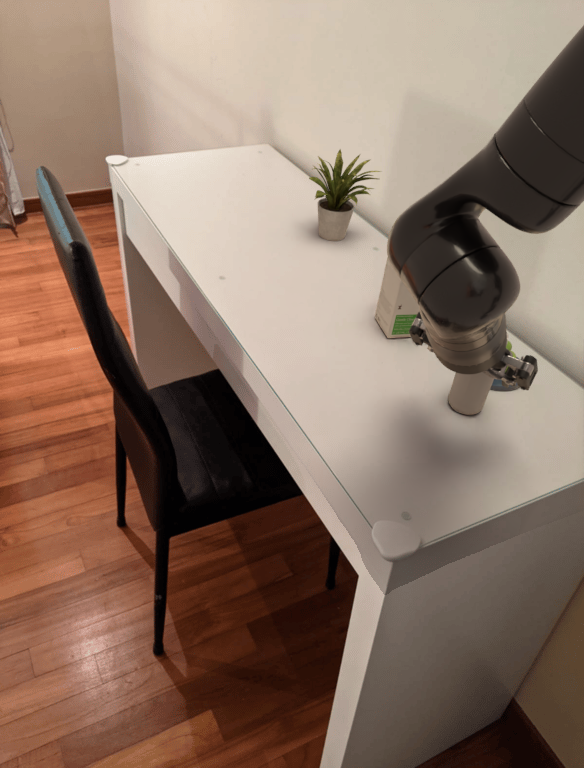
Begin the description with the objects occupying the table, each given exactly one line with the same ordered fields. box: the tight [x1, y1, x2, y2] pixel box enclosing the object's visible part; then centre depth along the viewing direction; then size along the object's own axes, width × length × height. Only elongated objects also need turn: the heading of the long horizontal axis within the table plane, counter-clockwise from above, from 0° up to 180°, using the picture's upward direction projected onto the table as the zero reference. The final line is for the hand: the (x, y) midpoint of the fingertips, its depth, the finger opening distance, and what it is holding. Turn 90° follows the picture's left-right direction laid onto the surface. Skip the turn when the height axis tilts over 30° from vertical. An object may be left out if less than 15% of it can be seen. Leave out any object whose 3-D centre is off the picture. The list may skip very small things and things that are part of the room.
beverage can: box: [447, 330, 509, 416], centre depth 79 cm, size 5×5×12 cm
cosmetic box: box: [374, 256, 420, 339], centre depth 92 cm, size 8×7×16 cm
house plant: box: [308, 148, 383, 242], centre depth 114 cm, size 14×14×16 cm
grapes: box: [490, 340, 521, 392], centre depth 88 cm, size 10×10×6 cm
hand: (475, 365), depth 75 cm, fingers open, 8 cm apart
